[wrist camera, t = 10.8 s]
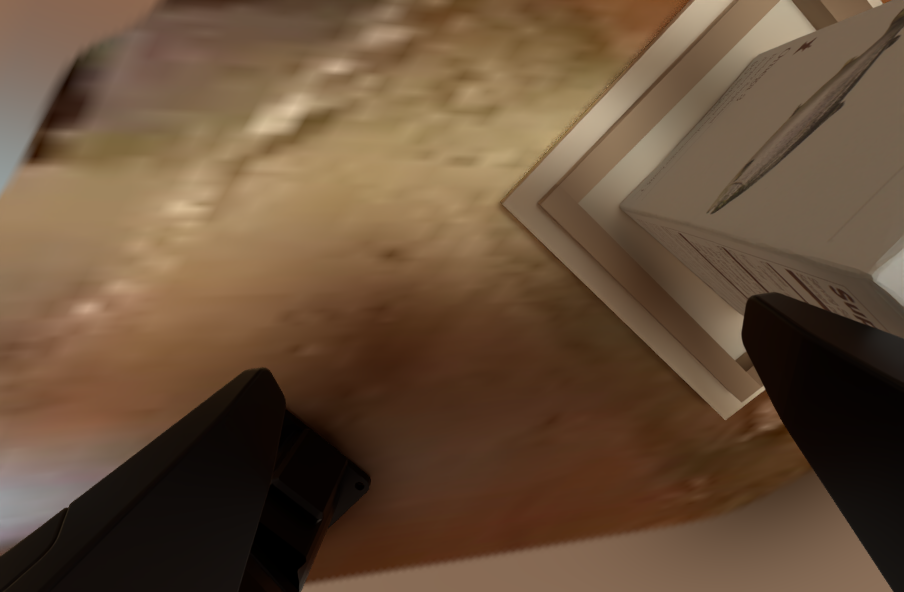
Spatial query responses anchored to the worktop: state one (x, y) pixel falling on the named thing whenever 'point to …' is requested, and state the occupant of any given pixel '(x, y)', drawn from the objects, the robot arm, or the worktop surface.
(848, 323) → the robot arm
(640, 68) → the display stand
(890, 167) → the supplement box
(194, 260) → the worktop surface
